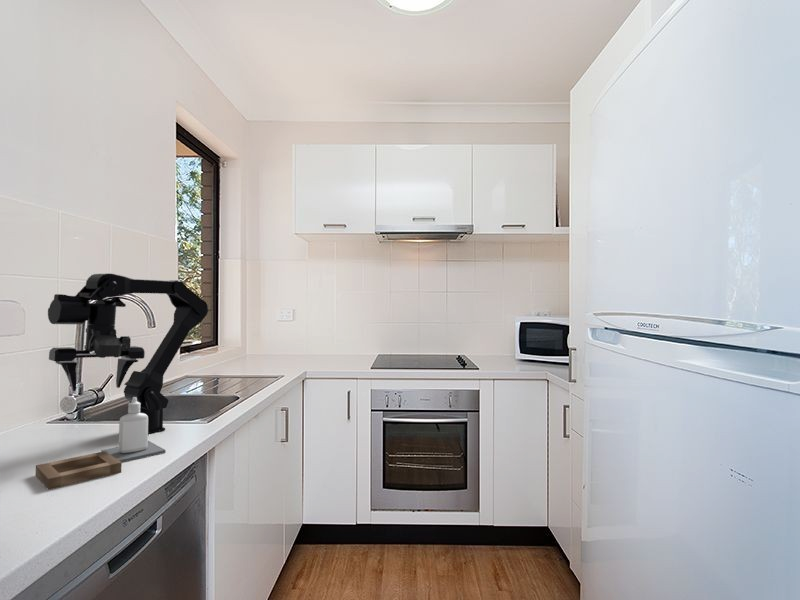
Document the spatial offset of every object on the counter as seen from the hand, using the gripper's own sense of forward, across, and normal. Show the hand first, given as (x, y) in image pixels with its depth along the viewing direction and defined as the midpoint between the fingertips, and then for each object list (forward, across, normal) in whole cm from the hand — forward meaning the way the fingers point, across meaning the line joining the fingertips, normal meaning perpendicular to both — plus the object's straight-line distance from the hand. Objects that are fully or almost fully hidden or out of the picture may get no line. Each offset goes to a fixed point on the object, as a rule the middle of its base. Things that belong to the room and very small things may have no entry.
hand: (96, 389), depth 110 cm
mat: (+13, +4, -13) cm, 19 cm away
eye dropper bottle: (+13, +4, -14) cm, 19 cm away
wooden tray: (+14, -8, -19) cm, 25 cm away
